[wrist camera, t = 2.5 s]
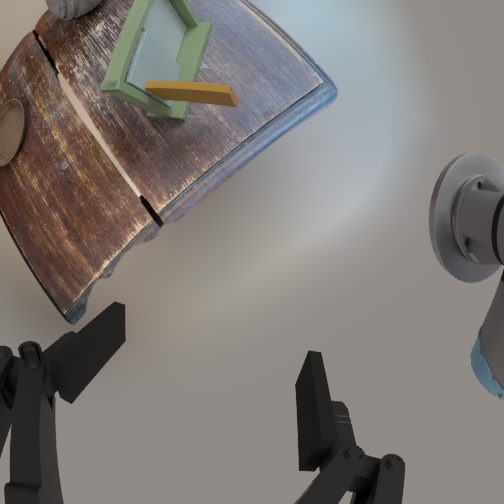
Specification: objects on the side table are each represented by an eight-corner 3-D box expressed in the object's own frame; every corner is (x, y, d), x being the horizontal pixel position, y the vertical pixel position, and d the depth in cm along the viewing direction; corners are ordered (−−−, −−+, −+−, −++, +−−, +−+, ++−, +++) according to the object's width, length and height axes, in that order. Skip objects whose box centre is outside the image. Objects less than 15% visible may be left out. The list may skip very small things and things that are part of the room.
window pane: (249, 73, 33) (237, 30, 20) (239, 115, 34) (221, 86, 22) (178, 67, 33) (142, 31, 21) (167, 107, 35) (125, 82, 22)
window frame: (212, 26, 32) (182, -35, 16) (186, 120, 37) (133, 88, 21) (177, 26, 32) (136, -28, 16) (150, 117, 37) (86, 91, 21)
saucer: (21, 171, 41) (12, 172, 38) (-7, 158, 40) (-15, 158, 38) (40, 103, 37) (31, 101, 34) (9, 98, 37) (1, 97, 34)
